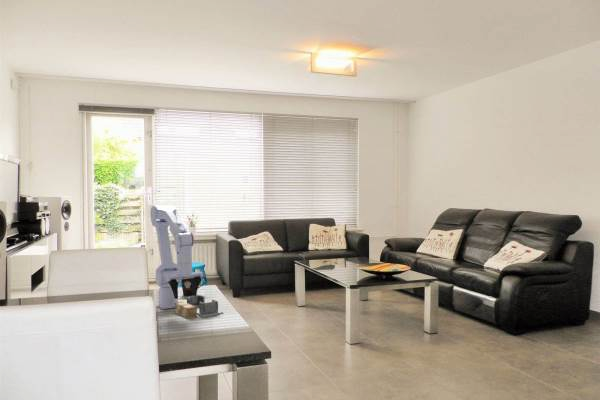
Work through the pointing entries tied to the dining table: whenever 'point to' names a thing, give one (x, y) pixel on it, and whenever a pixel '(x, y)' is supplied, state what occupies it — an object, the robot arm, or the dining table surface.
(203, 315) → the board
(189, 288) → the coffee mug
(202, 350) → the dining table surface
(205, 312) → the bracket
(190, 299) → the bracket
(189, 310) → the rail
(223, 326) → the dining table surface
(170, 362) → the dining table surface
